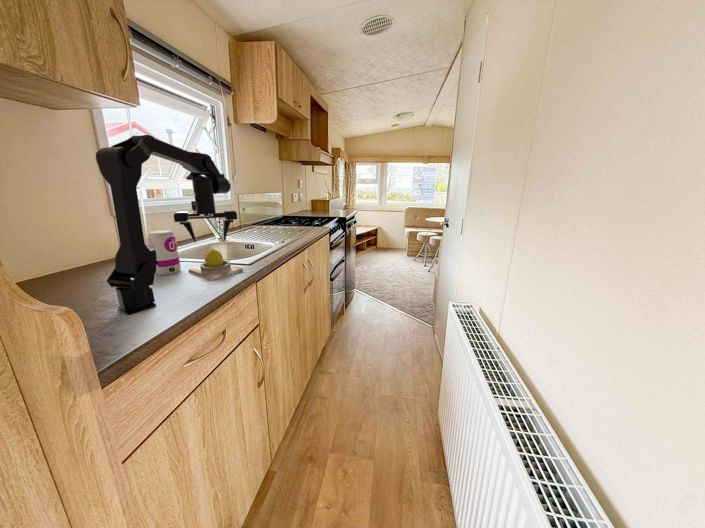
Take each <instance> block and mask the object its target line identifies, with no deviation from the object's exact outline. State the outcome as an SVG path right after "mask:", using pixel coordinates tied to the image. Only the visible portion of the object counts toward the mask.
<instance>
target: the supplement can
mask: <svg viewBox="0 0 705 528" xmlns="http://www.w3.org/2000/svg"><path fill="white" fill-rule="evenodd" d="M146 238H147V243H148V249H152V250H155V251H156V259H157V262H158V265H156V272H155V275H158V276H168V275H172V274H177V273H178V272H179V271H181V269H182V268H181V262H180V256H179V250H178V244H177V239H176V234H175V233H174V231H173V230H172V229H158V230H157V229H156V230H151V231H148V234H147V236H146Z"/></svg>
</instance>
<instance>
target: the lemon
mask: <svg viewBox="0 0 705 528" xmlns="http://www.w3.org/2000/svg"><path fill="white" fill-rule="evenodd" d="M205 257H206V264H207V266H208V267H219V266H222V264H223V260H224V258H223V254H222V253H221V252H220V251H219V250H217V249H215V248H211V249H210V250H209V251H207V253H206V254H205Z"/></svg>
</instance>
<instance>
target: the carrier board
mask: <svg viewBox="0 0 705 528" xmlns="http://www.w3.org/2000/svg"><path fill="white" fill-rule="evenodd" d="M241 271H244V269H243V267H240V266H237V265H233V264H231V262H230V261H229V260H225V259H223V264H222V266H219V267H208V266H207V264H206V256H205V257H204V262H203V263H200V266H195V267H192V268H188V273H189V274H192V273H193V274H192V275H195V276H198V277H201V276H202V277H201V278H205V279H207V278H208V279H207V280H210V279H211V280H210V281H215V280H214V279H216V280H218V279H217V278H219V279H221V278H220V277H222V278H225V277H224V276H226V277H228V276H227V275H229V276H231V275H230V274H232V275H235V274H234V273H236V274H239V273H242V272H241ZM238 272H239V273H238Z"/></svg>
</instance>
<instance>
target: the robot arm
mask: <svg viewBox="0 0 705 528" xmlns="http://www.w3.org/2000/svg"><path fill="white" fill-rule="evenodd" d="M151 155H152V156H155V157H158V158H161V159H164V160H167V161H169V162H172V163H176V164H178V165H180V166H181V167H182V168H183V169H184V170H186V171H188V172H190V173H189V175H187V176H186V177H185V179H186V180H187V181H191V183H192V189H193V195H194V200H192V201H191V200H190V201H191V210H192V212H193V213H189V211H188V210H187V211H185V210H184V211H175V212H174V213H173V220H174V223H179V225H183V226H184V228H185V229H186V230H187V232H188V233H189V235H190V237H191V238H192V240H193V242H194V243H196V242H197V240H196V236H195V233H194V228H193V225H192V221H191V220H200V219H222V218H223V240H224V241H226V238H227V235H228V230H229V228H230V225H231V223H234V220H238V213H237V211H235V209H224V210H223V212H217V211H216V203H215V198H214V195H217V194H218V195H220V194H221V195H222V194H228V193H229V192H230V190H231V182H230V181H229V180H228V178H226V177H225V174H224V173H221V172H220V171H219V169H218V167H217V166H216V164H215V162H214V161H213V159H212V157H211V155H209V154H207V153H201V152H194V151H188V150H186V149H183V148H181V147H178V146H177V145H176V146H175V145H173V144H170V143H167V142H166V141H164V140H161V139H158V138H156V137H154V136H152V135H150V134H134V135H132V136H130V137H128V138H127V139H125V140H123V141H120V142H118V143H115V144H113V145H111V146H109V147H102V148H100V149H99V150H98V151H96V152H95V160H96V164H97V167H98V169H99V172H100V174H101V176H102V177H103V178H104V180H105V181H106V182H107V184H108V185H109V186H110V191H111V196H112V197H111V198H112V202H113V209H114V213H115V220H116V227H117V233H118V238H119V243H120V244H119V247H118V250H117V252H116V254H115V255H114V256H115V257H114V258H115V259H114V260H115V262H114V263H115V264H114V265H115V267H114V269H113V270H112V272H111V273H110V275H109V276H108V277H107V280H106V283H107V285H109V287H110V288H115V292H116V296H117V301H118V305H119V306H117V309H118V310H119V311H121V312H122V313H124V314H125V315H127V316H128V315H132V314H135V313H139V312H142V311H144V310H148V309H151V308H153V307H157V304H156V303H155V302H156V301H155V295H154V290H153V288H152V287H151V286H153V285H154V282H155V275H156V273H155V272H156V265H158V262H157V259H156V251H155V250H152V249H149V246H147V244H146V243H145V236H144V235H145V234H144V230H143V222H142V216H141V209H140V202H139V198H138V188H137V187H138V184H139V182H140V180H141V177H142V175H143V173H142V170H143V164H144V163H146V162H147V161H148V160H149V159H150V157H151ZM194 212H195V213H194Z"/></svg>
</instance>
